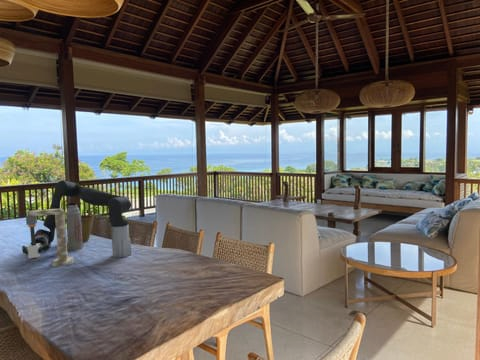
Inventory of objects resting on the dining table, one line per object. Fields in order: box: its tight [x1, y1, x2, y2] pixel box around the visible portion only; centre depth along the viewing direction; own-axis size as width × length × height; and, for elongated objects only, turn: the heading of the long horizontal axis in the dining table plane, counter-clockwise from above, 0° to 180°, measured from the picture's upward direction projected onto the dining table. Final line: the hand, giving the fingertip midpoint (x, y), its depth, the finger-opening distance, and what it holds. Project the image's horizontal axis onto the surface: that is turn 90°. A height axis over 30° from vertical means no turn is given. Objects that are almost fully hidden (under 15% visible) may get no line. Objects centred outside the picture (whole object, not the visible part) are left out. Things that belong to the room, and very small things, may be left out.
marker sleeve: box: [27, 243, 41, 259], centre depth 173 cm, size 5×5×6 cm
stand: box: [27, 207, 74, 267], centre depth 175 cm, size 18×9×29 cm, turn 112°
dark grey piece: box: [25, 215, 40, 263], centre depth 172 cm, size 4×4×24 cm
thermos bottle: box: [65, 202, 84, 251], centre depth 202 cm, size 8×8×28 cm
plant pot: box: [81, 214, 94, 243], centre depth 219 cm, size 15×15×16 cm
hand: (33, 252), depth 170 cm, fingers closed on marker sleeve, 4 cm apart
